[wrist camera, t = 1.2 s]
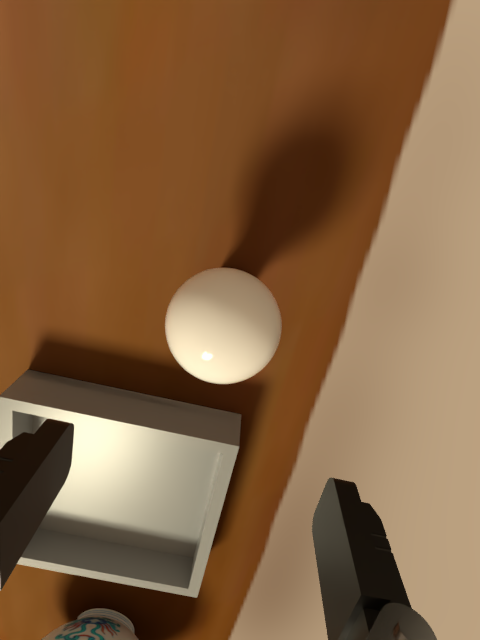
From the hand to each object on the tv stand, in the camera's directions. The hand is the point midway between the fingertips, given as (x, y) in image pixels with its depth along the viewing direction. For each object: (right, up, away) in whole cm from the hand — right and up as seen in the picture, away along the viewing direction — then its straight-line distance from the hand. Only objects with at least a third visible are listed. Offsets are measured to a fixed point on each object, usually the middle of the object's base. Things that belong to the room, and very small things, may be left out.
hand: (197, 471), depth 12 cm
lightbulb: (+1, +7, +17) cm, 19 cm away
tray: (-9, -9, +24) cm, 28 cm away
